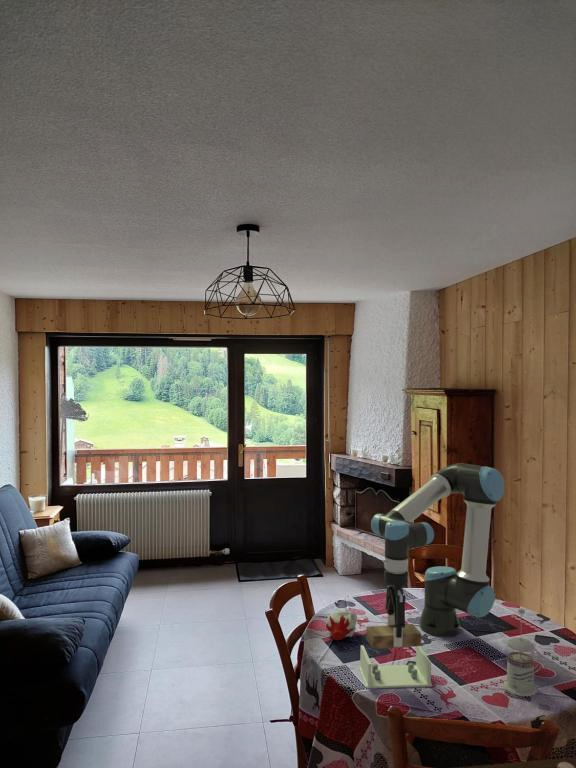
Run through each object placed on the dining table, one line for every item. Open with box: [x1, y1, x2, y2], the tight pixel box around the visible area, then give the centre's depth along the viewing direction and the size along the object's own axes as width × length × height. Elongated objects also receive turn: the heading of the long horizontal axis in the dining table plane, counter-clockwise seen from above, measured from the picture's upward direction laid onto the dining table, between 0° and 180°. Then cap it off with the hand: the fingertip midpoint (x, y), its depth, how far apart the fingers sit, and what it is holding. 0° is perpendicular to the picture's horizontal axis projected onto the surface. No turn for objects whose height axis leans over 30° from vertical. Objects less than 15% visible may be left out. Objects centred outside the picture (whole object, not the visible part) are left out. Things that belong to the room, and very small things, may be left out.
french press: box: [503, 608, 543, 697], centre depth 174 cm, size 10×12×25 cm
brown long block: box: [365, 623, 422, 650], centre depth 179 cm, size 16×7×4 cm, turn 99°
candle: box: [325, 610, 358, 641], centre depth 206 cm, size 9×11×15 cm
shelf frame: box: [358, 645, 433, 689], centre depth 179 cm, size 21×12×8 cm, turn 94°
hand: (394, 640), depth 179 cm, fingers closed on brown long block, 7 cm apart
